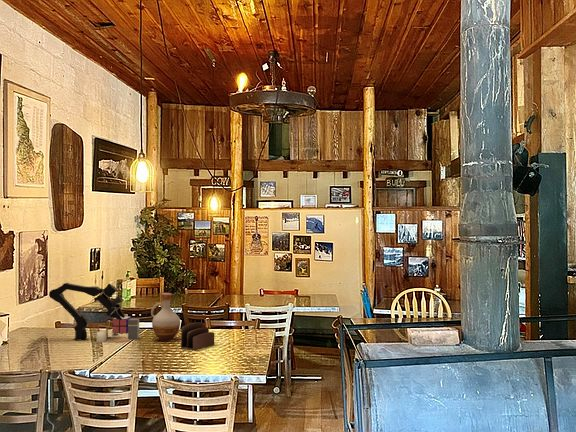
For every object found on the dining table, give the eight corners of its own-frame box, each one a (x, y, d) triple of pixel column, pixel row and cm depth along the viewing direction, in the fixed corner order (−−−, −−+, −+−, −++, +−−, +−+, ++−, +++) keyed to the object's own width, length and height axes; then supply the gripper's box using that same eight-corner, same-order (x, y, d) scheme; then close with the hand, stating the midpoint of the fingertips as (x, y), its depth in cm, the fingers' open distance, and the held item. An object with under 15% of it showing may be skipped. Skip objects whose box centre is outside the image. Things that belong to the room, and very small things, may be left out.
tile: (117, 342, 353) (117, 341, 353) (113, 340, 360) (113, 339, 360) (129, 341, 357) (129, 339, 357) (126, 339, 364) (126, 337, 364)
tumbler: (127, 339, 364) (128, 320, 364) (129, 337, 370) (129, 318, 370) (137, 339, 365) (137, 320, 365) (139, 337, 371) (139, 318, 371)
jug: (144, 341, 357) (144, 294, 358) (157, 336, 374) (157, 291, 375) (172, 343, 353) (173, 295, 353) (184, 337, 370) (185, 292, 370)
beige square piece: (97, 342, 354) (97, 333, 354) (95, 341, 359) (95, 331, 359) (107, 341, 357) (107, 332, 358) (105, 340, 362) (105, 330, 363)
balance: (96, 340, 361) (96, 325, 361) (94, 339, 365) (94, 324, 365) (119, 338, 368) (119, 323, 368) (117, 336, 373) (117, 322, 373)
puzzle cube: (126, 333, 385) (126, 318, 386) (112, 333, 386) (112, 318, 386) (131, 330, 395) (131, 316, 396) (116, 330, 396) (117, 316, 396)
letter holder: (180, 349, 337) (180, 325, 337) (202, 343, 354) (202, 320, 354) (193, 351, 332) (193, 326, 332) (214, 345, 348) (214, 322, 349)
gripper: (111, 294, 358) (129, 311, 358) (117, 291, 376) (134, 307, 377) (98, 307, 357) (116, 324, 357) (105, 303, 375) (122, 319, 376)
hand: (123, 318), depth 367 cm, fingers open, 9 cm apart
